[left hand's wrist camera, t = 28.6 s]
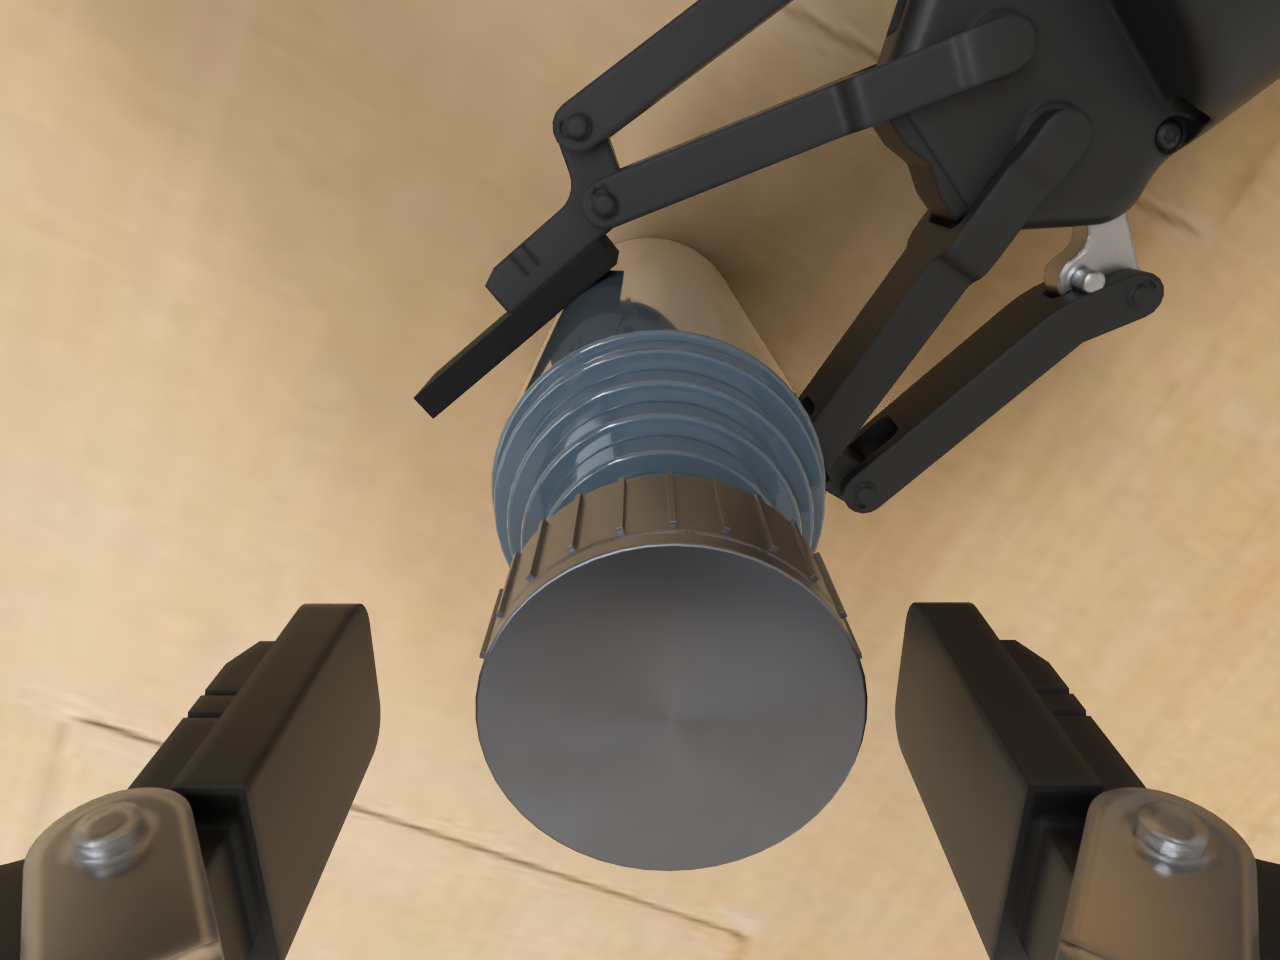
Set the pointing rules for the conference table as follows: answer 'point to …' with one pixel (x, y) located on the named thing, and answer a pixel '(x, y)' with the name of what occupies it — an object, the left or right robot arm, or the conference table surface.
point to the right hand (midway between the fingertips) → (518, 482)
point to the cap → (669, 676)
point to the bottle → (654, 399)
